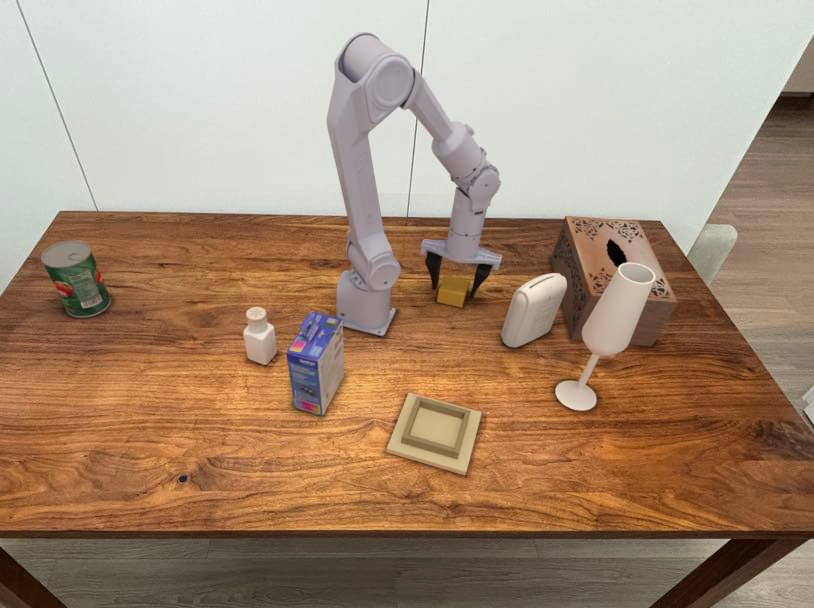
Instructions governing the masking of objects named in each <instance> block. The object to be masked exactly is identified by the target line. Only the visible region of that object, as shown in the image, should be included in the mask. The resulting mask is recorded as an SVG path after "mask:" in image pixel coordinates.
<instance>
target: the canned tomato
mask: <svg viewBox="0 0 814 608" xmlns="http://www.w3.org/2000/svg"><path fill="white" fill-rule="evenodd" d="M40 260H41V262H42V264H43V265H44V268H45V270H46V272H47V274H48V276H49V278H50V280H51V283H52V284H53V286H54V288H55V291H56V292H57V294H58V296H59V298H60V300H61V302H62V305H63V306H64V308H65V311H66V313H67V314H68V315H69V316H71V317H74V318H77V319H87V318H92V317H95V316H98V315H100V314H102V313H104V312H105V311H106V310H107V309H108V308H109V307H110V306H111V302H112V298H111V296H110V294H109V291H108V289H107V286H106V284H105V282H104V279H103V277H102V274H101V272H100V268H99V267H98V264H97V262H96V259H95V257H94V255H93V252H92V248H91V246H90V245H89V244H88V243H86V242H85V241H81V240H63V241H60V242H57V243H54V244H52V245H50V246H48V247H47V248H45V249H44V251H43V252H42V253H41V256H40Z"/></svg>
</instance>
